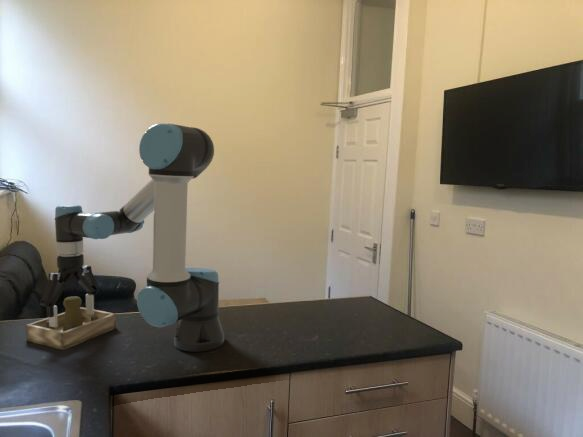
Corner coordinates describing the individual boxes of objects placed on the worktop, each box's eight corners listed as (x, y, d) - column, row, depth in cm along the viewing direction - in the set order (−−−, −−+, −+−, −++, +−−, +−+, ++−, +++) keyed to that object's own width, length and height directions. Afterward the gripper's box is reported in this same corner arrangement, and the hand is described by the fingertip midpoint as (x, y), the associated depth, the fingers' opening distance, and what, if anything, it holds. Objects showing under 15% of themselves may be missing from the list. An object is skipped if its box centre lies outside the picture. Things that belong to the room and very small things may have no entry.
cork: (87, 327, 143) (86, 294, 142) (76, 334, 137) (75, 300, 136) (69, 326, 144) (69, 293, 143) (58, 333, 138) (57, 299, 137)
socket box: (116, 328, 147) (115, 313, 146) (63, 349, 129) (62, 333, 128) (81, 321, 153) (80, 307, 153) (26, 340, 135) (25, 324, 134)
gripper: (93, 247, 151) (95, 307, 153) (24, 260, 128) (27, 330, 131) (110, 249, 148) (111, 310, 150) (41, 262, 125) (45, 334, 128)
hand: (72, 319), depth 140 cm, fingers open, 13 cm apart
